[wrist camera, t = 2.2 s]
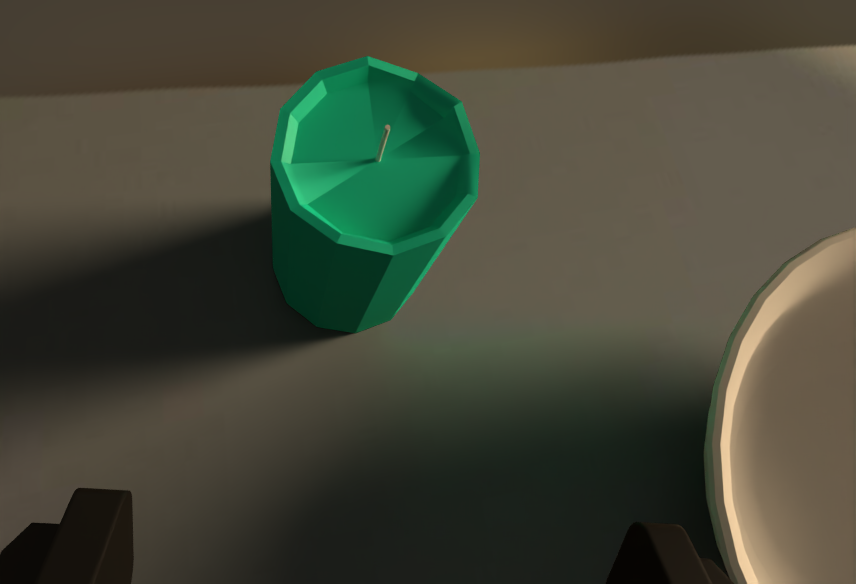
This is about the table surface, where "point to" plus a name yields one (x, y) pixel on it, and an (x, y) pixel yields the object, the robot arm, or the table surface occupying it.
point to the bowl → (789, 426)
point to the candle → (366, 190)
